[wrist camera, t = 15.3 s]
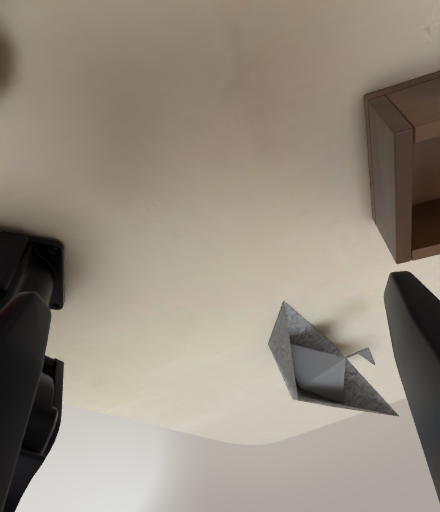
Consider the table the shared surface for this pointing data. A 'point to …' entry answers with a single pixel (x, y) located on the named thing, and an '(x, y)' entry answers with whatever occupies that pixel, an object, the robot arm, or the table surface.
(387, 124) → the box
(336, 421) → the table surface
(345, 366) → the paper boat
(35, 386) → the robot arm
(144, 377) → the table surface
